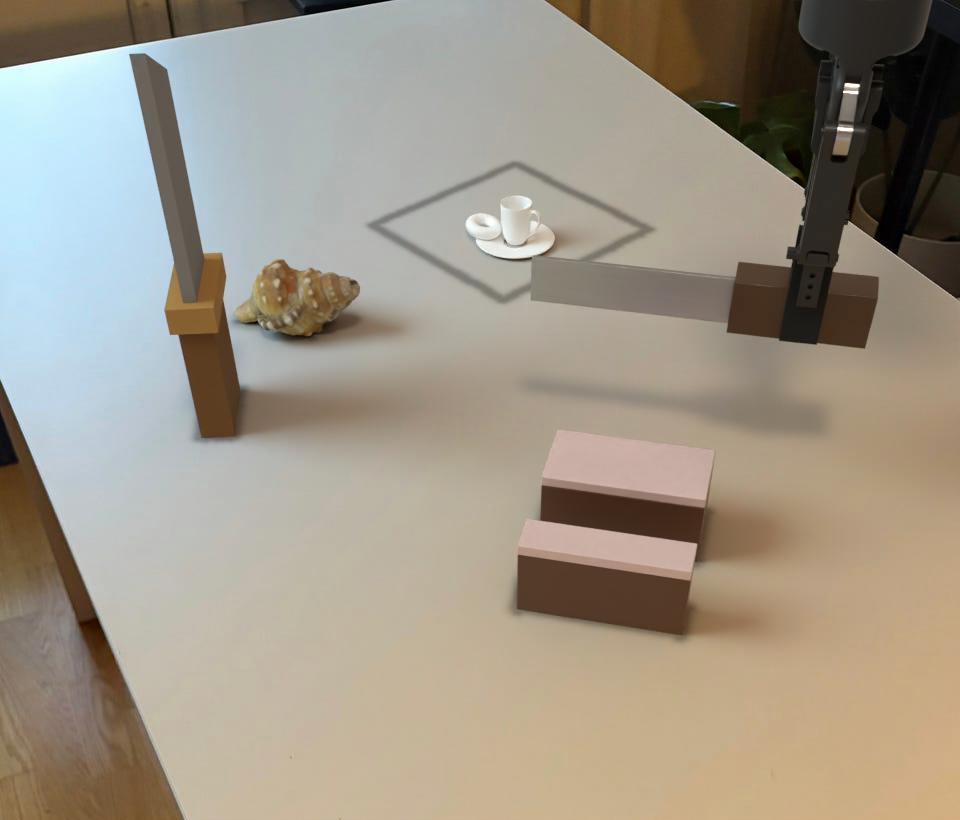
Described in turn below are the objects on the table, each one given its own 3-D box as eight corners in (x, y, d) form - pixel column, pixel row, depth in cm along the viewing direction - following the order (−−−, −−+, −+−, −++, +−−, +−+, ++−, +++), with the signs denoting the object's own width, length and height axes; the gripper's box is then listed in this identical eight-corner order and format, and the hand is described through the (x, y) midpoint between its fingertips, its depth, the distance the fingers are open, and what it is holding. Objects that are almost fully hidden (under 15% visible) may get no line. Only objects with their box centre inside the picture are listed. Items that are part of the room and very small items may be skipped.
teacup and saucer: (454, 239, 123) (453, 199, 120) (512, 213, 127) (512, 173, 124) (512, 271, 119) (513, 231, 116) (571, 243, 122) (572, 204, 119)
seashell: (331, 327, 119) (369, 251, 111) (319, 386, 115) (357, 311, 107) (240, 287, 116) (273, 206, 108) (224, 346, 112) (256, 266, 104)
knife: (239, 443, 102) (164, 57, 79) (195, 445, 102) (106, 60, 79) (246, 385, 107) (177, 9, 84) (204, 387, 107) (123, 11, 84)
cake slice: (687, 607, 88) (697, 543, 83) (681, 635, 86) (691, 572, 82) (525, 582, 90) (526, 518, 85) (516, 609, 88) (517, 545, 84)
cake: (705, 513, 95) (716, 449, 90) (696, 563, 91) (706, 499, 87) (555, 492, 97) (557, 428, 92) (539, 540, 93) (541, 476, 89)
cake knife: (866, 326, 90) (879, 276, 87) (864, 349, 88) (878, 298, 85) (535, 289, 94) (536, 239, 91) (527, 309, 92) (528, 259, 89)
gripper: (816, -82, 77) (757, 266, 95) (800, 11, 67) (737, 381, 85) (938, -75, 76) (855, 276, 94) (940, 21, 66) (847, 394, 84)
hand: (799, 325), depth 89 cm, fingers closed on cake knife, 3 cm apart
